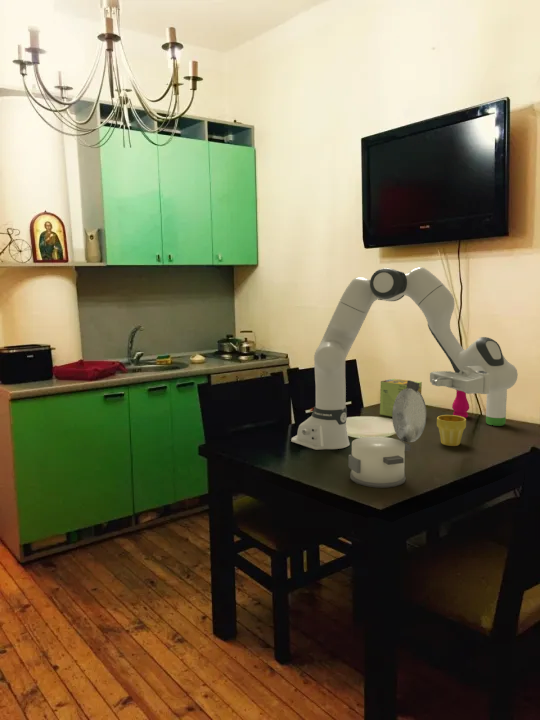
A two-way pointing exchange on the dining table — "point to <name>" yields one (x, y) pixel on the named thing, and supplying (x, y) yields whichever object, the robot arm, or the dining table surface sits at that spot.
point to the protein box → (391, 394)
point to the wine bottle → (496, 408)
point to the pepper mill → (460, 404)
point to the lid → (409, 413)
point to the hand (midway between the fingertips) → (434, 382)
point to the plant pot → (451, 429)
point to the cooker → (378, 461)
